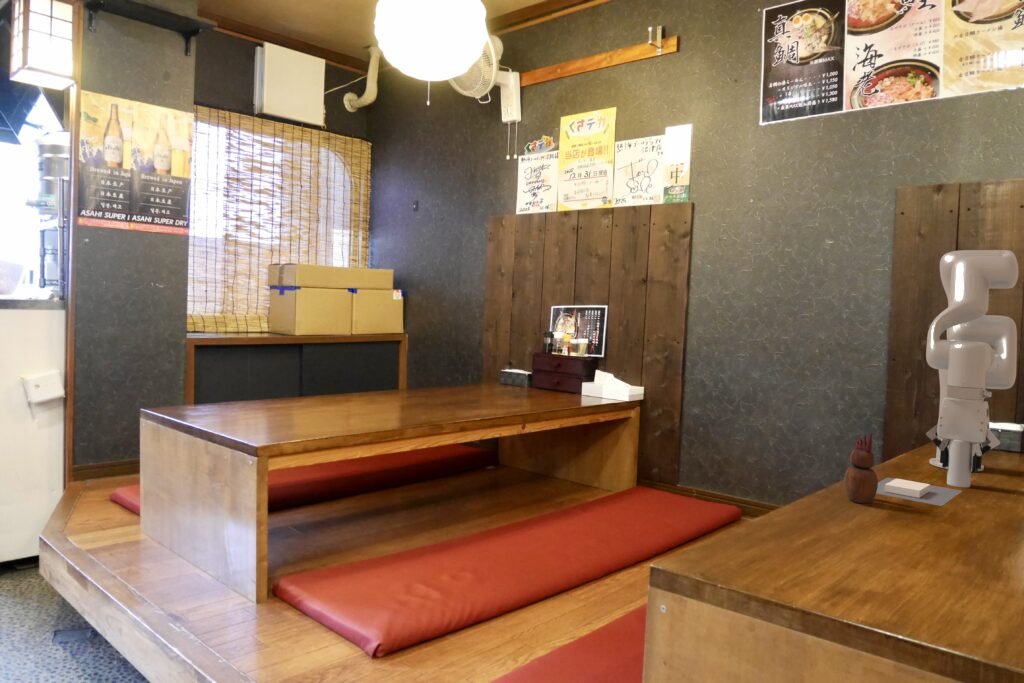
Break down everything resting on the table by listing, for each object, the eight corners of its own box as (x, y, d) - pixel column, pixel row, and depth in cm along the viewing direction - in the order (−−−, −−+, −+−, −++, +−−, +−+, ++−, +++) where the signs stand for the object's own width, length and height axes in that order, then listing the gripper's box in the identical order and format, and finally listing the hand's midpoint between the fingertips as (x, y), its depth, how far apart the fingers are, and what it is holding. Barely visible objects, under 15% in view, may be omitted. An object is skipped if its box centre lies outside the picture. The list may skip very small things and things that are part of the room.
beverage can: (974, 490, 167) (976, 439, 166) (951, 488, 168) (953, 438, 167) (965, 485, 171) (967, 436, 171) (943, 484, 172) (945, 435, 172)
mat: (887, 479, 175) (887, 477, 175) (962, 492, 164) (962, 490, 164) (861, 492, 160) (861, 490, 160) (941, 507, 149) (941, 506, 149)
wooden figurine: (881, 506, 149) (885, 435, 148) (853, 505, 149) (857, 434, 148) (865, 497, 155) (869, 430, 155) (839, 496, 155) (843, 429, 155)
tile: (896, 478, 166) (884, 484, 160) (930, 484, 161) (919, 490, 155) (896, 485, 166) (884, 492, 160) (929, 491, 161) (919, 498, 155)
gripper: (1011, 397, 165) (1005, 473, 166) (928, 389, 177) (923, 460, 178) (1005, 399, 160) (999, 478, 161) (920, 391, 172) (915, 464, 173)
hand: (960, 468), depth 169 cm, fingers open, 5 cm apart
